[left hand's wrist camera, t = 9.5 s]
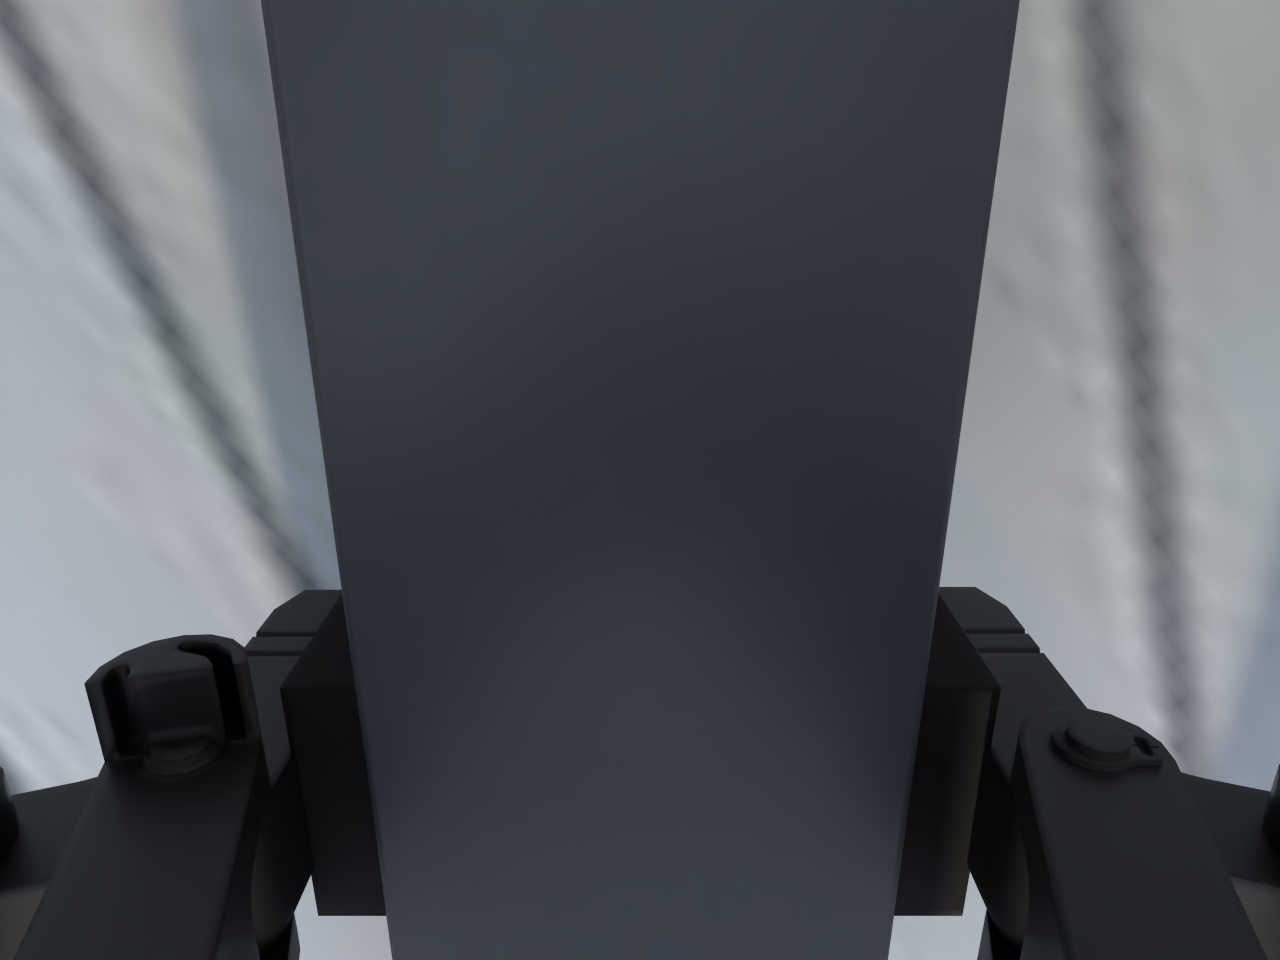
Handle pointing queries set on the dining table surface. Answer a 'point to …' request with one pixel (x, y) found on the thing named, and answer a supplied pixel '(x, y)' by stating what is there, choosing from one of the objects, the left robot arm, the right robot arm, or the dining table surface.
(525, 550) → the beam
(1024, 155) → the dining table surface
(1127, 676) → the dining table surface
